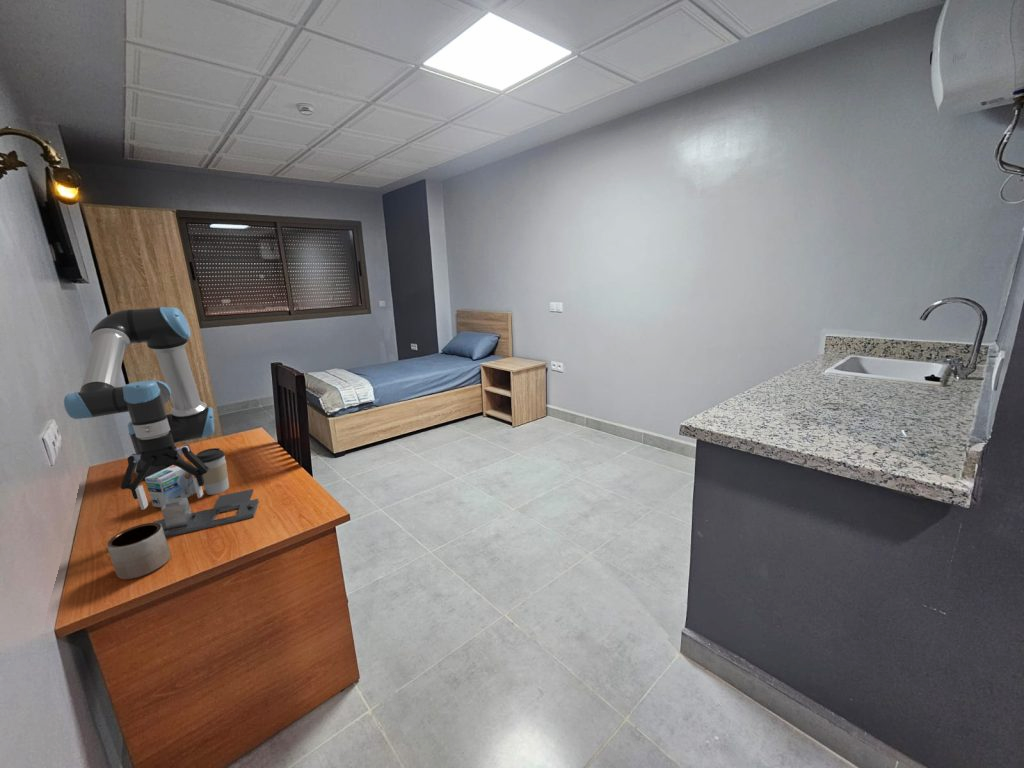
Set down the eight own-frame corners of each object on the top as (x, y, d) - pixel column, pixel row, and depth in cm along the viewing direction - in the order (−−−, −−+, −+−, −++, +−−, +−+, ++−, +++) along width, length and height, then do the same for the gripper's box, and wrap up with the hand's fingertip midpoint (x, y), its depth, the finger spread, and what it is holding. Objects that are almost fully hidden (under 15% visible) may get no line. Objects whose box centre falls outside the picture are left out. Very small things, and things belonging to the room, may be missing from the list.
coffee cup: (200, 499, 140) (189, 459, 136) (204, 487, 148) (194, 449, 144) (231, 491, 144) (221, 452, 140) (234, 481, 152) (225, 443, 148)
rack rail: (154, 524, 126) (153, 519, 126) (258, 501, 137) (257, 497, 136) (141, 543, 117) (139, 537, 117) (253, 517, 128) (252, 512, 127)
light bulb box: (168, 508, 135) (159, 479, 132) (152, 507, 136) (143, 478, 134) (198, 492, 145) (190, 464, 142) (182, 491, 147) (175, 463, 144)
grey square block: (173, 524, 126) (166, 498, 124) (193, 519, 128) (186, 494, 126) (168, 533, 122) (160, 507, 119) (188, 528, 123) (181, 502, 121)
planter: (107, 575, 105) (96, 543, 102) (155, 549, 114) (146, 519, 112) (133, 585, 101) (121, 552, 98) (181, 557, 111) (171, 526, 108)
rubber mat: (219, 497, 141) (219, 495, 141) (253, 490, 144) (252, 488, 144) (212, 512, 132) (212, 510, 132) (248, 504, 136) (248, 502, 135)
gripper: (90, 448, 109) (114, 519, 114) (202, 430, 118) (219, 496, 123) (104, 439, 116) (126, 506, 121) (209, 423, 125) (225, 486, 130)
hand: (173, 501), depth 122 cm, fingers open, 13 cm apart
